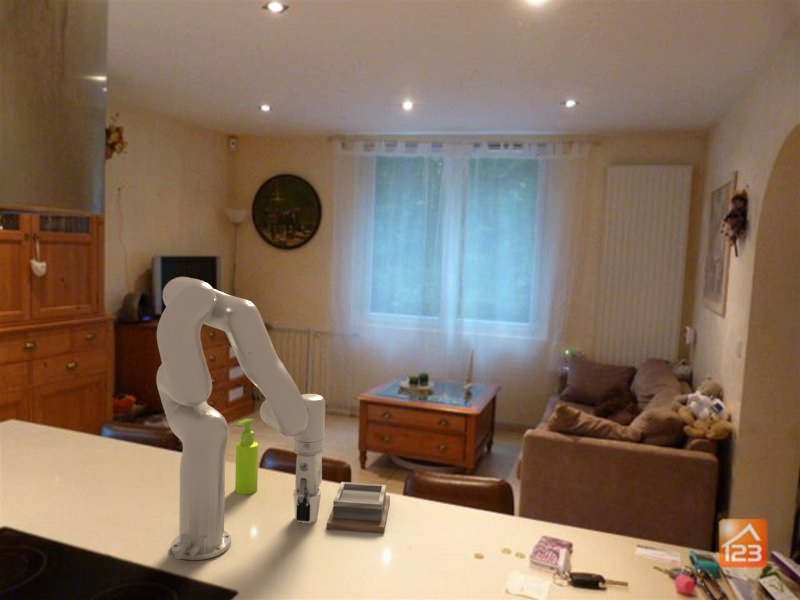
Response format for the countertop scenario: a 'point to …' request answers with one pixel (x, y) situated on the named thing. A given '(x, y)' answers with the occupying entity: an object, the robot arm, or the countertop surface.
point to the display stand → (359, 508)
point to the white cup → (313, 504)
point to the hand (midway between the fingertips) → (306, 512)
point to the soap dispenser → (246, 460)
